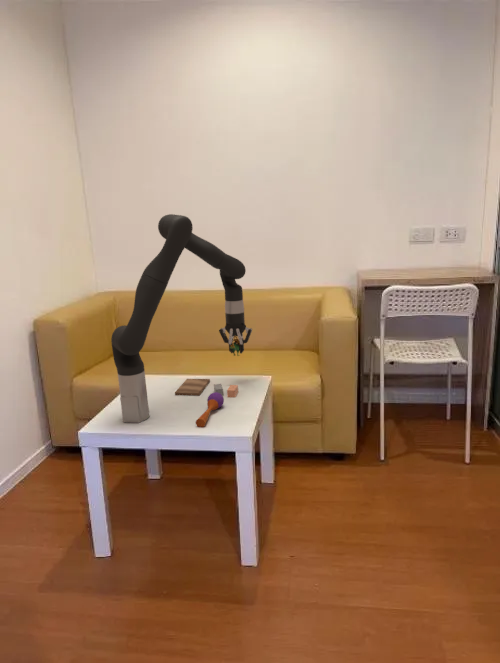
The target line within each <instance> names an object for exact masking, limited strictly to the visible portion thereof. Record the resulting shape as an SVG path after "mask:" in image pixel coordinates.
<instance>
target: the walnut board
mask: <svg viewBox="0 0 500 663" xmlns="http://www.w3.org/2000/svg"><path fill="white" fill-rule="evenodd" d="M210 382H211V378H186V379H185V380H184V381H183V382H182V384H181V385H180V386H179V387H178V388H177V389H176V391H175V392H174V395H175V396H196V397H198V396H201V394H202V393H203V392H204V391H205V389H206V387H207V386H209V384H210Z"/></svg>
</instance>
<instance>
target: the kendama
mask: <svg viewBox="0 0 500 663" xmlns="http://www.w3.org/2000/svg"><path fill="white" fill-rule="evenodd" d="M206 401H207V403H206V404H207V409H206V410H205V411H204V412H203V413H202V414H201V415H200V416H199V417H198V418H197V419H196V420H195V425H196V426H197V427H198V428H203V427H205V425H206V423H207V421H208V418H209V417H210V414H211V411H216V410H217V409H220V408H221V407H222V406H223V405H224V402H225V399H224V395H223V396H222V395H221V394H220V393H218V392H214V391H213V392H212V393H210V394H209V395H208V396H207V399H206Z"/></svg>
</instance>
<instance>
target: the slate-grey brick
mask: <svg viewBox="0 0 500 663" xmlns="http://www.w3.org/2000/svg"><path fill="white" fill-rule="evenodd" d="M222 385H223V384H222V383H216V384H213V390H214V391H213V393H214V392H218V393H220V394H221V395H222V396H223V397H224V388H223V386H222Z"/></svg>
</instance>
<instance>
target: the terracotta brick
mask: <svg viewBox="0 0 500 663" xmlns="http://www.w3.org/2000/svg"><path fill="white" fill-rule="evenodd" d="M226 392H227V393H226V394H227V398H236V396H237V395H238V393H239V385H238V384H230V385H229V387H228V388H227V390H226Z"/></svg>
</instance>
